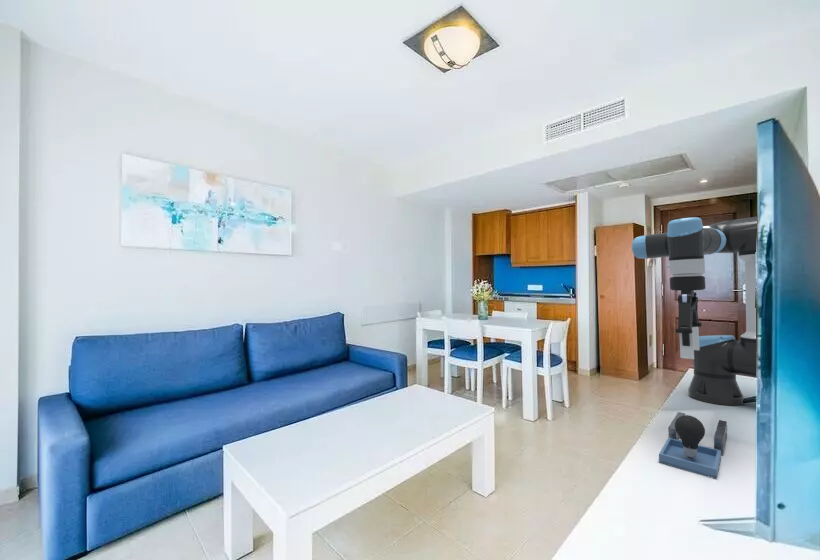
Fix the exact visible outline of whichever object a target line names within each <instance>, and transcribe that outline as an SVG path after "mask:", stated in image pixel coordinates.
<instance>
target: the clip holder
mask: <svg viewBox="0 0 820 560" xmlns="http://www.w3.org/2000/svg"><path fill="white" fill-rule="evenodd" d="M683 415H686V413H685V412H681V411H677V413H676V414H675V416H674V418H673V419H672V421H671V422H670V424H669V425H668V429H667V430H668V431H667V432H668V438H672V439H676V440H680V439H681V438H680V437H679V435H678V434H677V432H676V429H675V422H676V420H677V418H679V417H680V416H683ZM714 432H715V433H714V436H713V447H714V448H713V449H717V450H721V457H724V454H725V449H726V444H727V441H728V440H727V439H728V422H727V421H726V420H722V419H719V420H718V422H717V426H716V429H715V431H714Z"/></svg>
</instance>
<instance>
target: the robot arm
mask: <svg viewBox="0 0 820 560" xmlns="http://www.w3.org/2000/svg"><path fill="white" fill-rule="evenodd" d="M756 233H757V216H751V217H743V218H738V219H731V220H724V221H720V222H717V223H716V222H715V223H712V224H709V225H703V220H702V219H701V217H695V216H694V217H693V216H692V217H682V218H678V219H673V220H670V221H669V222H668V223H667V232H662V233H655V234H653V233H652V234H645V235H640V236H637V237H635V238H634V239H633V240H632V243H631V251H632V254H633V255H634V257H635V258H636V259H643V260H644V259H646V260H647V259H648V260H649V259H659V258H668V264H666V266H665V267H666V268H668V269H669V275H671V276H670V278H669V289H670V291H680V294H678V295H677V303H678V306H677V309H678V318H677V319H678V321H677V322H678V323H677V324H678V325H677V328H675V333H676V334H677V333H678V335H679V338H678V339H679V357H680V359H687V360H692V362H693V377H692V379H691V381H690V384H689V386H688V396H689V397H691V399H695V400H698V401H701V402H703V403H704V402H706V403H709V404H716V405H722V406H723V405H724V406H741V405H744V403H743V400H745V399H744V395H743V393H742V390H741V388H740V386H739V383H738V382H737V375H743V376H749V377H754V378H757V377H756V308H755V252H756ZM732 253H733V254H735V253H737V254H738V258H739V259H741V260H742V261H743V262H744V280H745V281H744V283H745V284H744V285H745V288H744V289H745V291H744V292H745V324H746V325H745V329H746V331H745V332H744V333H742V334H741V335H740V336H739V338H740V340H737V339H736V336H735V335H732V334H731V335H730V334H729V335H728V334H717V335H715V334H714V335H713V334H712V335H700V334H699V333H700V331H699V327H702V322H700V320H699V313H698V309H699V308H698V307H699V304H698V303H699V297H698V296H697V292H695V291H704V290H705V289H706V277H705V276H704V275H703V274H705V273H706V267H705V266H706V265H705V264H706V263H705V255H709V256H710V255H712V254H713V255H714V254H732Z"/></svg>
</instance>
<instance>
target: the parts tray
mask: <svg viewBox="0 0 820 560" xmlns="http://www.w3.org/2000/svg"><path fill="white" fill-rule="evenodd" d="M721 462H722V456H721V450H717V449H714V448H712V447H708V446H705V445H699V444H698V448H697V457H696V458H693V459H689V458H688V457H687V456H686V455H685V454H684V447H683V444H682V440H681V439H679V440H676V439H672V438H669V437H668V438H667V439H666V441H665V443H664V444H663V446H662V447H661V450H660V451H659V453H658V463H659V464H664V465H667V466H671V467H674V468H677V469H681V470H684V471H688V472H690V473H695V474H698V475H701V476H705V477H708V476H709V478H711V477H713V478H712V479H715V478H717V479H718V476H719V475H718V474H719V471H720V467H721Z"/></svg>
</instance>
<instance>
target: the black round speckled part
mask: <svg viewBox="0 0 820 560" xmlns="http://www.w3.org/2000/svg"><path fill="white" fill-rule="evenodd" d="M675 429H676V432H677V434H678V435H679V437H680V438H679V439H680V441H682V444H683V447H684V454H685V455H686V456H687V457H688V458H689V459H693V458H696V457H697V448H698V445H699V444H700V443H701V441H702V440H703V439H704V437H705V435H706V429H705V426H704V424H703V422H702V421H700V419H698V418H696V416H692V415H690V414H689V415H688V414H687V415H686V414H685V415H683V416H680V417H679V418H677V420H676V422H675Z"/></svg>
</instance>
